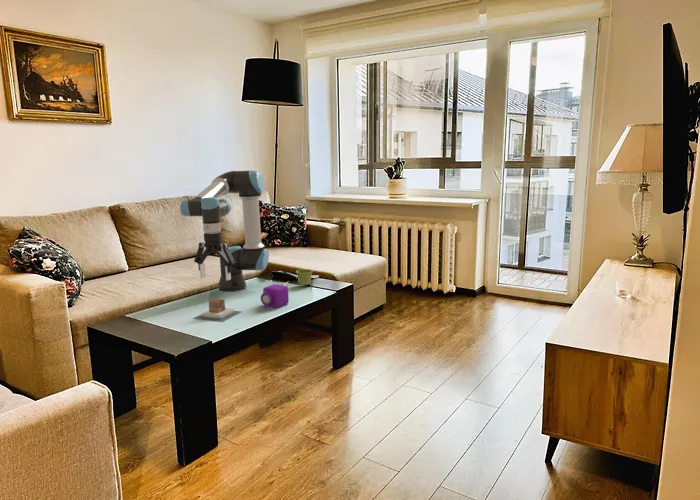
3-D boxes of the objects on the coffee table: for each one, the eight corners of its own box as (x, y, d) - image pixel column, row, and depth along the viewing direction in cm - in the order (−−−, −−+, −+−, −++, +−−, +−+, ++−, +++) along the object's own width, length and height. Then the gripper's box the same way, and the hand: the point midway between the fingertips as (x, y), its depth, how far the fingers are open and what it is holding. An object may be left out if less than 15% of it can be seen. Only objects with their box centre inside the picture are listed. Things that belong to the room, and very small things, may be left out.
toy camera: (257, 309, 234) (256, 288, 232) (271, 301, 247) (270, 282, 245) (277, 311, 230) (276, 290, 229) (290, 303, 243) (290, 283, 241)
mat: (213, 309, 234) (213, 308, 234) (242, 312, 229) (242, 311, 229) (192, 319, 220) (192, 318, 220) (222, 322, 214) (222, 322, 214)
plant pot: (312, 288, 272) (311, 272, 270) (295, 288, 272) (294, 273, 270) (313, 284, 281) (313, 269, 280) (297, 284, 281) (296, 269, 280)
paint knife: (292, 289, 273) (292, 284, 272) (272, 286, 280) (272, 282, 279) (321, 277, 299) (321, 273, 298) (302, 275, 305) (302, 271, 305)
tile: (215, 306, 230) (233, 308, 227) (215, 311, 230) (233, 312, 227) (201, 313, 221) (220, 315, 217) (202, 317, 221) (220, 319, 218)
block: (216, 308, 227) (215, 298, 226) (225, 309, 225) (224, 299, 224) (209, 312, 222) (208, 301, 221) (218, 313, 220) (217, 302, 220)
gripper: (183, 232, 218) (187, 278, 222) (231, 234, 210) (234, 282, 214) (194, 230, 225) (198, 275, 229) (241, 232, 217) (244, 278, 221)
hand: (215, 278), depth 222 cm, fingers open, 13 cm apart
